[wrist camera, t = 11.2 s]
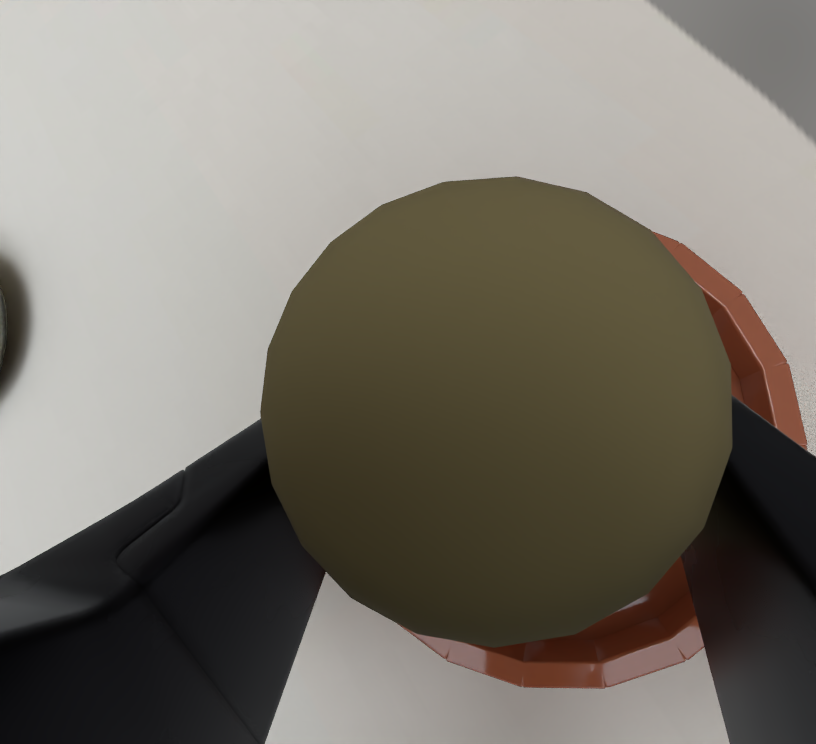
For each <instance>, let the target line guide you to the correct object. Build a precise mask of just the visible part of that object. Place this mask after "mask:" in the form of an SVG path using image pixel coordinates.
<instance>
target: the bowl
mask: <svg viewBox="0 0 816 744" xmlns="http://www.w3.org/2000/svg"><path fill="white" fill-rule="evenodd" d="M652 232H653V231H652ZM653 233H654V234H655V236H656V237H657V238H658V239H659V240H660V241H661V243H662V244H663V245H664V246H665V247H666V248H667V250H668V251H669V252H670V253H671V254H672V255H673V256H674V258H675V259H676V260H677V261H678V262H679V263H680V265H681V266H682V267H683V268H684V269H685V270H686V272H687V273H688V274H689V275H690V276H691V277H692V278H693V280H694V281H695V282H696V283H697V284H698V285H699V287H700V288H701V289H702V291H703V294H704V296H705V299H706V302H707V304H708V307H709V309H710V312H711V314H712V317H713V320H714V322H715V325H716V327H717V330H718V332H719V335H720V338H721V340H722V343H723V345H724V348H725V350H726V353H727V355H728V358H729V361H730V363H731V394H732V395H733V396H734V397H736V398H737V399H738V400H740V401H741V402H742V403H744V404H745V405H746V406H748V407H749V408H750V409H752V410H753V411H754V412H756V413H757V414H758V415H760V416H761V417H763V418H764V419H765V420H767V421H768V422H769V423H771V424H772V425H773V426H775V427H776V428H777V429H779V430H780V431H781V432H783V433H784V434H785V435H787V436H788V437H789V438H791V439H792V440H793V441H795V442H796V443H797V444H799V445H800V446H802V447H803V448H804V449H806V450H807V447H806V445H807V440H806V436H805V432H804V427H803V423H802V419H801V414H800V410H799V406H798V401H797V397H796V393H795V388H794V384H793V380H792V375H791V371H790V367H789V364H787V360H786V359H785V357H784V356H783V354H782V352H781V351H780V349H779V348H778V346H777V345H776V343H775V342H774V340H773V338H772V337H771V335H770V334H769V332H768V331H767V329H766V328H765V326H764V324H763V323H762V321H761V320H760V318H759V317H758V315H757V313H756V312H755V310H754V309H753V307H752V306H751V304H750V303H749V301H748V299H747V298H746V296H745V295H744V294H742V291H741V290H740V289H738V288H737V287H736V286H735V285H733V284H732V283H731V282H730V281H728V280H727V279H726V278H725V277H723V276H722V275H721V274H720V273H718V272H717V271H716V270H715V269H713V268H712V267H711V266H710V265H708V264H707V263H706V262H705V261H703V260H702V259H701V258H700V257H699V256H697V255H696V254H695V253H694V252H692V251H691V250H690V249H689V248H687V247H686V246H685V245H684V244H682V243H680V244H679V242H678V241H676V240H673V239H671V238H668V237H665V236H663V235H660V234H658V233H655V232H653ZM397 624H398V623H397ZM398 625H399V624H398ZM400 626H401V625H400ZM401 627H402V628H404V629H405V630H406V631H408V632H409V633H410V634H412V635H413V636H415V637H416V638H417V639H419V640H420V641H421V642H423V643H424V644H425V645H427V646H428V647H429V648H431V649H432V650H433V651H435V652H436V653H437V654H439V655H440V656H441V657H443V658H444V659H446V660H447V661H448V662H451V663H454V664H457V665H460V666H462V667H465V668H468V669H471V670H474V671H477V672H480V673H482V674H485V675H488V676H491V677H494V678H497V679H500V680H502V681H505V682H508V683H511V684H514V685H517V686H520V687H522V686H523V687H532V688H596V689H604V688H605V687H611V686H614V685H617V684H620V683H623V682H626V681H629V680H632V679H635V678H638V677H641V676H644V675H647V674H650V673H653V672H656V671H659V670H662V669H665V668H668V667H671V666H674V665H677V664H680V663H682V662H685V661H686V660H689V659H690V658H691V657H693V656H694V655H695V654H696V653H698V652H699V651H700V650H701V649H702V648H704V643H703V639H702V635H701V632H700V628H699V624H698V620H697V617H696V613H695V609H694V605H693V601H692V598H691V594H690V590H689V586H688V582H687V579H686V575H685V571H684V567H683V563H682V560H681V556H680V557H679V558H678V559H677V560H676V562H675V563H674V564H673V565H672V566H671V567H670V569H669V570H668V571H667V572H666V573H665V575H664V576H663V577H662V578H661V579H660V580H659V582H658V583H657V584H656V585H655V586H654V588H653V589H652V590H651V591H650V592H649V593H648V594H646V595H645V596H643V597H641V598H639V599H637V600H636V601H634V602H632V603H630V604H628V605H627V606H625V607H623V608H621V609H620V610H618V611H616V612H614V613H612V614H611V615H609V616H607V617H605V618H604V619H602V620H600V621H598V622H596V623H595V624H593V625H591V626H589V627H588V628H586V629H584V630H582V631H580V632H579V633H577V634H575V635H569V636H563V637H557V638H550V639H544V640H538V641H532V642H526V643H520V644H514V645H508V646H502V647H496V648H493V647H487V646H482V645H476V644H470V643H465V642H459V641H453V640H448V639H442V638H437V637H431V636H425V635H420V634H416V633H414V632H412V631H410V630H409V629H407V628H405V627H403V626H401Z"/></svg>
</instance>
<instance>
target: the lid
mask: <svg viewBox="0 0 816 744" xmlns="http://www.w3.org/2000/svg"><path fill="white" fill-rule="evenodd" d="M6 342H7V310H6V304H5V300H4V296H3V292H2V290H1V287H0V372H1V368H2V363H3V356H4V352H5V348H6Z"/></svg>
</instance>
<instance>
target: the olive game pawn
mask: <svg viewBox="0 0 816 744" xmlns="http://www.w3.org/2000/svg"><path fill="white" fill-rule="evenodd" d="M260 413H261V422H262V428H263V434H264V440H265V447H266V453H267V459H268V465H269V471H270V477H271V483H272V486H273V488H274V490H275V492H276V494H277V496H278V498H279V500H280V502H281V504H282V506H283V508H284V510H285V512H286V514H287V516H288V518H289V521H290V523H291V525H292V527H293V529H294V531H295V533H296V535H297V537H298V539H299V541H300V543H301V545H302V546H303V547H304V549H305V550H306V551H307V552H308V553H309V554H310V555H311V556H312V557H313V558H314V559H315V560H316V561H317V562H318V563H319V564H320V566H321V567H322V568H323V569H324V570H325V571H326V572H327V573H328V574H329V575H330V576H331V577H332V578H333V579H334V580H335V582H336V583H337V584H338V585H339V586H340V587H341V588H342V589H343V590H344V591H345V592H346V593H347V594H348V595H349V596H350V597H351V598H352V599H354V600H356V601H358V602H359V603H361V604H363V605H365V606H367V607H368V608H370V609H372V610H374V611H376V612H378V613H379V614H381V615H383V616H385V617H387V618H389V619H390V620H392V621H394V622H396V623H398V624H399V625H401V626H403V627H405V628H407V629H409V630H410V631H412V632H414V633H416V634H420V635H425V636H431V637H437V638H442V639H448V640H453V641H459V642H465V643H470V644H476V645H482V646H487V647H493V648H496V647H502V646H508V645H514V644H520V643H526V642H532V641H538V640H544V639H550V638H557V637H563V636H569V635H575V634H577V633H579V632H580V631H582V630H584V629H586V628H588V627H589V626H591V625H593V624H595V623H596V622H598V621H600V620H602V619H604V618H605V617H607V616H609V615H611V614H612V613H614V612H616V611H618V610H620V609H621V608H623V607H625V606H627V605H628V604H630V603H632V602H634V601H636V600H637V599H639V598H641V597H643V596H645V595H646V594H648V593H649V592H650V591H651V590H652V589H653V588H654V586H655V585H656V584H657V583H658V582H659V580H660V579H661V578H662V577H663V576H664V575H665V573H666V572H667V571H668V570H669V569H670V567H671V566H672V565H673V564H674V563H675V562H676V560H677V559H678V558H679V557H680V556H681V554H682V553H683V552H684V551H685V550H686V549H687V547H688V546H689V545H690V544H691V543H692V541H693V540H694V539H695V538H696V537H697V536H698V534H699V533H700V532H701V531H702V530H703V528H704V526H705V524H706V521H707V518H708V515H709V512H710V510H711V507H712V504H713V501H714V498H715V495H716V493H717V490H718V487H719V484H720V481H721V479H722V476H723V473H724V470H725V467H726V464H727V462H728V459H729V456H730V453H731V450H732V395H731V363H730V361H729V358H728V355H727V353H726V350H725V348H724V345H723V343H722V340H721V338H720V335H719V332H718V330H717V327H716V325H715V322H714V320H713V317H712V314H711V312H710V309H709V307H708V304H707V302H706V299H705V296H704V294H703V291H702V289H701V288H700V287H699V285H698V284H697V283H696V282H695V281H694V280H693V278H692V277H691V276H690V275H689V274H688V273H687V272H686V270H685V269H684V268H683V267H682V266H681V265H680V263H679V262H678V261H677V260H676V259H675V258H674V256H673V255H672V254H671V253H670V252H669V251H668V250H667V248H666V247H665V246H664V245H663V244H662V243H661V241H660V240H659V239H658V238H657V237H656V236H655V234H654V233H653V232H652V231H651V230H650V229H648V228H646V227H645V226H643V225H641V224H639V223H638V222H636V221H634V220H633V219H631V218H629V217H628V216H626V215H624V214H623V213H621V212H619V211H617V210H616V209H614V208H612V207H611V206H609V205H607V204H606V203H604V202H602V201H600V200H599V199H597V198H595V197H594V196H592V195H590V194H589V193H587V192H583V191H578V190H574V189H570V188H565V187H561V186H556V185H552V184H548V183H543V182H539V181H534V180H530V179H526V178H521V177H504V178H490V179H476V180H463V181H449V182H442V183H439V184H437V185H434V186H431V187H429V188H426V189H423V190H421V191H418V192H415V193H413V194H410V195H407V196H404V197H402V198H399V199H396V200H394V201H391V202H388V203H386V204H383V205H381V206H380V207H378V208H377V209H375V210H374V211H373V212H371V213H370V214H369V215H367V216H366V217H365V218H363V219H362V220H360V221H359V222H358V223H356V224H355V225H354V226H352V227H351V228H350V229H348V230H347V231H345V232H344V233H343V234H341V235H340V236H339V237H337V238H336V239H335V240H333V241H332V242H330V244H329V245H328V246H327V248H326V249H325V250H324V251H323V253H322V254H321V255H320V256H319V258H318V259H317V260H316V262H315V263H314V264H313V265H312V267H311V268H310V269H309V270H308V272H307V273H306V274H305V276H304V277H303V278H302V279H301V281H300V282H299V283H298V284H297V286H296V287H295V288H294V289H293V291H292V293H291V295H290V297H289V300H288V302H287V304H286V307H285V309H284V312H283V314H282V316H281V319H280V321H279V324H278V326H277V328H276V331H275V333H274V336H273V338H272V340H271V343H270V345H269V348H268V353H267V361H266V369H265V377H264V386H263V394H262V402H261V411H260Z"/></svg>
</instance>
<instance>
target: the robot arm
mask: <svg viewBox="0 0 816 744" xmlns="http://www.w3.org/2000/svg"><path fill="white" fill-rule="evenodd" d="M731 395H732V394H731ZM681 560H682V563H683V567H684V571H685V575H686V579H687V582H688V586H689V590H690V594H691V598H692V601H693V605H694V609H695V613H696V617H697V620H698V624H699V628H700V632H701V635H702V639H703V643H704V647H705V651H706V654H707V658H708V662H709V666H710V670H711V673H712V677H713V681H714V685H715V689H716V692H717V696H718V700H719V704H720V708H721V711H722V715H723V719H724V723H725V726H726V730H727V734H728V738H729V742H730V744H816V457H815V456H814V455H812V454H811V453H810V452H808V451H807V450H806V449H804V448H803V447H802V446H800V445H799V444H797V443H796V442H795V441H793V440H792V439H791V438H789V437H788V436H787V435H785V434H784V433H783V432H781V431H780V430H779V429H777V428H776V427H775V426H773V425H772V424H771V423H769V422H768V421H767V420H765V419H764V418H763V417H761V416H760V415H758V414H757V413H756V412H754V411H753V410H752V409H750V408H749V407H748V406H746V405H745V404H744V403H742V402H741V401H740V400H738V399H737V398H736V397H734V396H733V395H732V450H731V453H730V456H729V459H728V462H727V464H726V467H725V470H724V473H723V476H722V479H721V481H720V484H719V487H718V490H717V493H716V495H715V498H714V501H713V504H712V507H711V510H710V512H709V515H708V518H707V521H706V524H705V526H704V528H703V530H702V531H701V532H700V533H699V534H698V536H697V537H696V538H695V539H694V540H693V541H692V543H691V544H690V545H689V546H688V547H687V549H686V550H685V551H684V552H683V553H682V554H681ZM325 572H326V571H325V570H324V569H323V568H322V567H321V566H320V564H319V563H318V562H317V561H316V560H315V559H314V558H313V557H312V556H311V555H310V554H309V553H308V552H307V551H306V550H305V549H304V547H303V546H302V545H301V543H300V541H299V539H298V537H297V535H296V533H295V531H294V529H293V527H292V525H291V523H290V521H289V518H288V516H287V514H286V512H285V510H284V508H283V506H282V504H281V502H280V500H279V498H278V496H277V494H276V492H275V490H274V488H273V486H272V483H271V477H270V471H269V465H268V459H267V453H266V447H265V440H264V434H263V428H262V422H261V419H260V420H258V421H257V422H255V423H254V424H252V425H250V426H249V427H247V428H246V429H244V430H243V431H241V432H240V433H238V434H237V435H235V436H234V437H232V438H230V439H229V440H227V441H226V442H224V443H223V444H221V445H220V446H218V447H217V448H215V449H214V450H212V451H210V452H209V453H207V454H206V455H204V456H203V457H201V458H200V459H198V460H197V461H195V462H194V463H192V464H190V465H189V466H187V467H186V469H185V471H184V470H181V471H179V472H178V473H176V474H175V475H173V476H172V477H170V478H169V479H167V480H166V481H164V482H163V483H161V484H160V485H158V486H156V487H155V488H153V489H152V490H150V491H148V492H147V493H145V494H144V495H142V496H140V497H139V498H137V499H136V500H134V501H132V502H131V503H129V504H127V505H125V506H124V507H122V508H120V509H119V510H117V511H115V512H113V513H112V514H110V515H108V516H107V517H105V518H103V519H101V520H100V521H98V522H96V523H95V524H93V525H91V526H89V527H87V528H86V529H84V530H82V531H80V532H79V533H77V534H75V535H73V536H72V537H70V538H68V539H66V540H65V541H63V542H61V543H59V544H58V545H56V546H54V547H52V548H50V549H49V550H47V551H45V552H43V553H42V554H40V555H38V556H36V557H35V558H33V559H31V560H29V561H28V562H26V563H24V564H22V565H21V566H19V567H17V568H15V569H13V570H11V571H9V572H7V573H5V574H3V575H1V576H0V744H265V741H266V738H267V736H268V733H269V730H270V727H271V724H272V721H273V719H274V716H275V713H276V710H277V707H278V705H279V702H280V699H281V696H282V693H283V690H284V688H285V685H286V682H287V679H288V676H289V674H290V671H291V668H292V665H293V662H294V659H295V657H296V654H297V651H298V648H299V645H300V643H301V640H302V637H303V634H304V631H305V628H306V626H307V623H308V620H309V617H310V614H311V612H312V609H313V606H314V603H315V600H316V598H317V595H318V592H319V589H320V586H321V583H322V581H323V578H324V575H325Z"/></svg>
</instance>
